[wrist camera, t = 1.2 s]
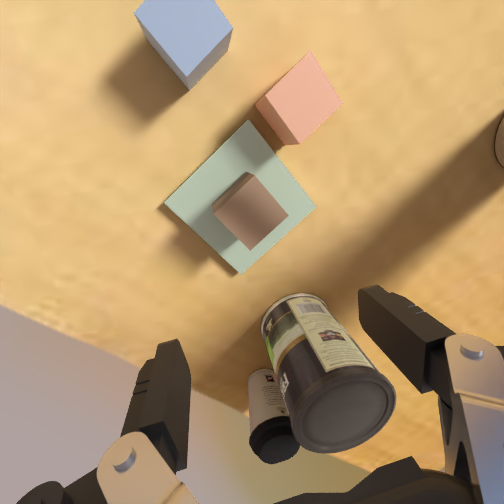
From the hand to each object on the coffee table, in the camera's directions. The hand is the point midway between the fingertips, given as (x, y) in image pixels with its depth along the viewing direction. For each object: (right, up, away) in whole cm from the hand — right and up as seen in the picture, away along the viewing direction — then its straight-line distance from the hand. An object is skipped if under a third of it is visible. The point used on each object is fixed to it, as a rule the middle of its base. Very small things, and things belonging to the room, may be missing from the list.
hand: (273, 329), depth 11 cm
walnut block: (-2, +9, +17) cm, 19 cm away
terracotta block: (+3, +18, +16) cm, 24 cm away
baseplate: (-2, +9, +18) cm, 20 cm away
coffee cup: (+1, -16, +29) cm, 33 cm away
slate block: (-7, +22, +12) cm, 26 cm away
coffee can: (+5, -7, +26) cm, 27 cm away
